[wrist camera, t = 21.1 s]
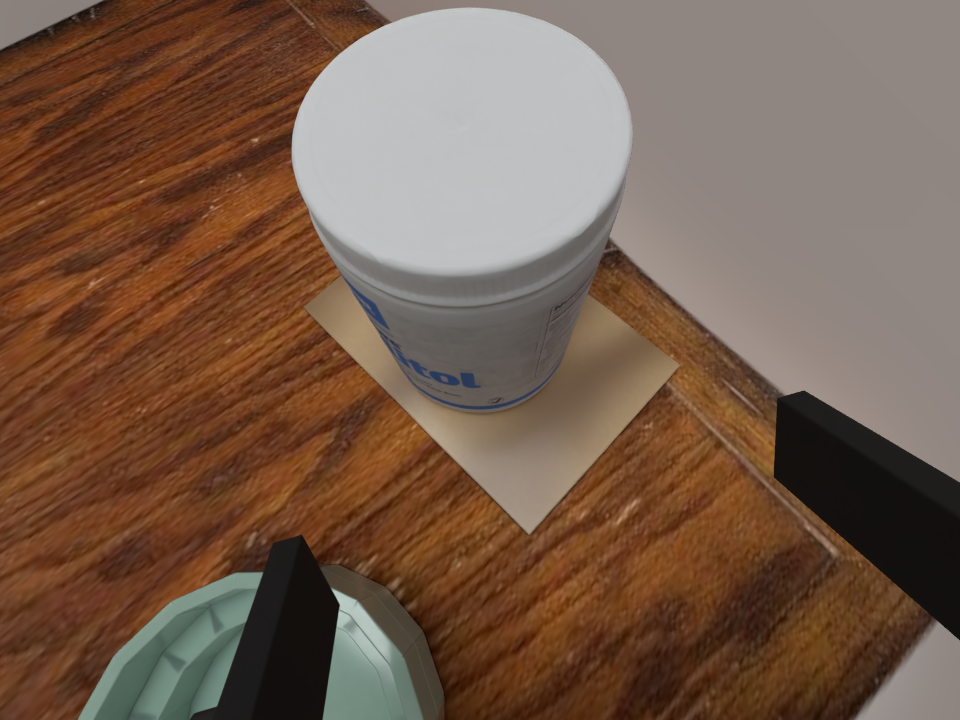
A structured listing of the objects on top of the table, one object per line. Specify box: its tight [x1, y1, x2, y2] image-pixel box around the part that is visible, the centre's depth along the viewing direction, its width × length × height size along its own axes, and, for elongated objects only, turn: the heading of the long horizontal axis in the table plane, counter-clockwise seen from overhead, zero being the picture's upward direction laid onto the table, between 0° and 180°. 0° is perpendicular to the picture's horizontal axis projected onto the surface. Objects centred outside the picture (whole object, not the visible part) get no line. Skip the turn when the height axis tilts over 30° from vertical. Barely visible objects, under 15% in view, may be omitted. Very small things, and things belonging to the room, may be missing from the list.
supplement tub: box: [292, 8, 633, 413], centre depth 19 cm, size 10×10×15 cm
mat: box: [303, 275, 680, 535], centre depth 26 cm, size 18×12×1 cm, turn 46°
